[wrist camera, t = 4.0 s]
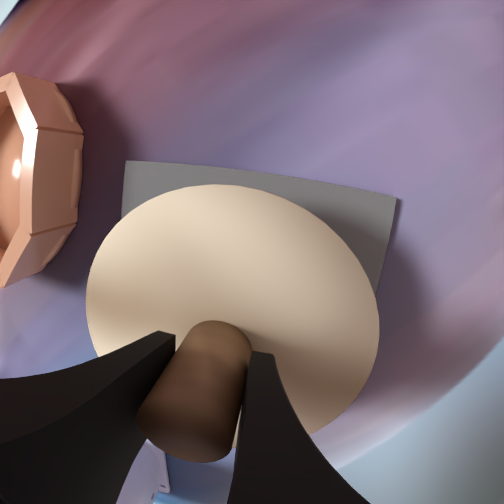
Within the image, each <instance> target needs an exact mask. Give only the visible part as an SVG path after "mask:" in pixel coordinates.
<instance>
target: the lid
mask: <svg viewBox="0 0 504 504" xmlns="http://www.w3.org/2000/svg"><path fill="white" fill-rule="evenodd" d="M86 315H87V322H88V327H89V332H90V335H91V339H92V342H93V345H94V348H95V350H96V352H97V355H98V357H100V356H103V355H105V354H108V353H110V352H112V351H115V350H117V349H119V348H121V347H123V346H126V345H128V344H130V343H132V342H134V341H136V340H138V339H140V338H142V337H144V336H147V335H149V334H151V333H153V332H156V331H158V330H159V331H163V332H167V333H171V334H175V335H176V352H175V354H174V355H173V357H172V358H171V360H170V361H169V363H168V364H167V366H166V367H165V369H164V370H163V372H162V374H161V375H160V377H159V378H158V380H157V381H156V383H155V384H154V386H153V388H152V389H151V391H150V392H149V394H148V395H147V397H146V398H145V400H144V402H143V403H142V405H141V406H140V408H139V409H138V412H137V423H138V426H139V428H140V430H141V431H142V433H143V434H144V436H145V437H146V438H147V439H148V440H149V441H150V442H151V443H152V444H153V445H155V446H156V447H157V448H159V449H160V450H162V451H164V452H165V453H167V454H169V455H171V456H174V457H176V458H179V459H182V460H186V461H191V462H200V463H207V462H214V461H217V460H220V459H222V458H224V457H225V456H227V455H228V454H229V453H230V451H231V449H232V448H236V443H237V434H238V425H239V419H240V413H241V407H242V402H243V397H244V390H245V384H246V378H247V372H248V366H249V361H250V357H251V353H252V351H258V352H264V353H270V354H273V356H274V357H275V361H276V366H277V369H278V373H279V376H280V379H281V381H282V384H283V387H284V389H285V391H286V394H287V396H288V398H289V401H290V403H291V405H292V407H293V409H294V411H295V413H296V415H297V416H298V418H299V420H300V422H301V424H302V425H303V427H304V429H305V430H306V432H307V433H308V435H310V434H312V433H314V432H316V431H318V430H319V429H321V428H323V427H324V426H326V425H327V424H329V423H330V422H332V421H333V420H334V419H336V418H337V417H338V416H339V415H340V414H341V413H343V412H344V411H345V410H346V409H347V408H348V407H349V405H350V404H351V403H352V402H353V401H354V400H355V399H356V397H357V396H358V394H359V393H360V391H361V390H362V388H363V387H364V385H365V383H366V381H367V379H368V377H369V375H370V373H371V371H372V368H373V365H374V362H375V359H376V355H377V350H378V343H379V315H378V309H377V304H376V299H375V296H374V293H373V290H372V287H371V284H370V282H369V279H368V277H367V275H366V273H365V271H364V270H363V268H362V266H361V264H360V262H359V261H358V259H357V258H356V256H355V255H354V254H353V252H352V251H351V250H350V249H349V247H348V246H347V245H346V243H345V242H344V241H343V240H342V239H341V238H340V237H339V236H338V235H337V234H336V233H335V232H334V231H333V230H332V229H331V228H330V227H329V226H328V225H327V224H326V223H325V222H323V221H322V220H321V219H319V218H318V217H316V216H315V215H314V214H312V213H311V212H309V211H308V210H307V209H305V208H303V207H301V206H299V205H298V204H296V203H294V202H292V201H290V200H288V199H286V198H284V197H281V196H278V195H275V194H272V193H269V192H267V191H264V190H260V189H255V188H250V187H245V186H239V185H220V184H211V185H201V186H191V187H185V188H181V189H178V190H174V191H170V192H166V193H164V194H162V195H159V196H157V197H155V198H152V199H150V200H148V201H146V202H145V203H143V204H141V205H140V206H138V207H137V208H135V209H134V210H132V211H130V212H129V213H128V214H127V215H126V216H125V217H124V218H123V219H121V220H120V221H119V222H118V223H117V224H116V225H115V226H114V228H113V229H112V230H111V231H110V233H109V234H108V235H107V236H106V238H105V239H104V241H103V243H102V244H101V246H100V248H99V250H98V251H97V253H96V256H95V258H94V261H93V263H92V266H91V269H90V273H89V278H88V282H87V290H86Z"/></svg>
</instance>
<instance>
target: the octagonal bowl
mask: <svg viewBox="0 0 504 504" xmlns="http://www.w3.org/2000/svg"><path fill="white" fill-rule="evenodd" d="M82 134H83V131H82V129H81V127H80V126H79V124H78V122H77V119H76V116H75V113H74V111H73V109H72V106H71V104H70V103H69V101H68V100H67V98H66V97H65V96H64V95H63V94H62V93H61V92H60V91H59V90H58V88H57V86H56V84H55V83H52V82H49V81H45V80H42V79H38V78H35V77H31V76H28V75H24V74H20V73H16V72H11V73H9V74H7V75H5V76H3V77H0V288H2V289H3V288H5V287H7V286H9V285H11V284H14V283H16V282H18V281H20V280H22V279H24V278H27V277H29V276H31V275H33V274H36V273H38V272H40V271H42V270H43V269H44V267H45V266H46V265H47V263H49V262H50V261H51V260H52V259H53V258H54V257H55V256H56V255H57V254H58V253H59V251H60V250H61V248H62V247H63V245H64V244H65V242H66V240H67V238H68V236H69V234H70V232H71V231H72V230H73V228H74V227H75V226H76V223H75V222H77V215H78V203H79V198H80V192H81V183H82V166H83V161H82V147H83V139H84V135H82Z"/></svg>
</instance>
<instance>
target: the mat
mask: <svg viewBox="0 0 504 504" xmlns="http://www.w3.org/2000/svg"><path fill="white" fill-rule="evenodd" d="M211 184H220V185H239V186H245V187H250V188H255V189H260V190H264V191H267V192H269V193H272V194H275V195H278V196H281V197H284V198H286V199H288V200H290V201H292V202H294V203H296V204H298V205H299V206H301V207H303V208H305V209H307V210H308V211H309V212H311V213H312V214H314V215H315V216H316V217H318V218H319V219H321V220H322V221H323V222H325V223H326V224H327V225H328V226H329V227H330V228H331V229H332V230H333V231H334V232H335V233H336V234H337V235H338V236H339V237H340V238H341V239H342V240H343V241H344V242H345V243H346V245H347V246H348V247H349V249H350V250H351V251H352V252H353V254H354V255H355V256H356V258H357V259H358V261H359V262H360V264H361V266H362V268H363V270H364V271H365V273H366V275H367V277H368V279H369V282H370V284H371V287H372V290H373V293H374V296H375V295H376V291H377V287H378V283H379V280H380V276H381V272H382V268H383V264H384V259H385V255H386V251H387V246H388V241H389V237H390V232H391V227H392V222H393V216H394V211H395V205H396V199H397V197H393V196H389V195H385V194H380V193H376V192H371V191H366V190H362V189H357V188H352V187H347V186H342V185H336V184H331V183H326V182H320V181H314V180H308V179H302V178H296V177H290V176H283V175H277V174H270V173H262V172H255V171H247V170H239V169H230V168H221V167H212V166H201V165H190V164H178V163H164V162H147V161H126V164H125V173H124V184H123V196H122V212H121V219H123V218H124V217H125V216H126V215H127V214H128V213H129V212H130V211H132V210H134V209H135V208H137V207H138V206H140V205H141V204H143V203H145V202H146V201H148V200H150V199H152V198H155V197H157V196H159V195H162V194H164V193H166V192H170V191H174V190H178V189H181V188H185V187H191V186H201V185H211Z"/></svg>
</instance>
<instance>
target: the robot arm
mask: <svg viewBox="0 0 504 504" xmlns="http://www.w3.org/2000/svg"><path fill="white" fill-rule="evenodd" d="M175 352H176V335H175V334H171V333H167V332H163V331H159V330H158V331H156V332H153V333H151V334H149V335H147V336H144V337H142V338H140V339H138V340H136V341H134V342H132V343H130V344H128V345H126V346H123V347H121V348H119V349H117V350H115V351H112V352H110V353H108V354H105V355H103V356H100V357H98V358H95V359H93V360H90V361H87V362H85V363H82V364H79V365H76V366H73V367H70V368H66V369H62V370H58V371H54V372H50V373H45V374H39V375H33V376H27V377H20V378H7V379H0V504H153V502H154V499H155V497H156V495H157V493H158V491H161V492H164V493H169V492H170V485H169V478H168V472H167V465H166V458H165V452H164V451H162V450H160V449H159V448H157V447H156V446H155V445H153V444H152V443H151V442H150V441H149V440H148V439H147V438H146V437H145V436H144V434H143V433H142V431H141V430H140V428H139V426H138V423H137V412H138V409H139V408H140V406H141V405H142V403H143V402H144V400H145V398H146V397H147V395H148V394H149V392H150V391H151V389H152V388H153V386H154V384H155V383H156V381H157V380H158V378H159V377H160V375H161V374H162V372H163V370H164V369H165V367H166V366H167V364H168V363H169V361H170V360H171V358H172V357H173V355H174V354H175ZM227 504H370V503H369V502H368V501H366V500H365V499H364V498H363V497H362V496H361V495H360V494H359V493H358V492H356V491H355V490H354V489H353V488H352V487H351V486H350V485H349V484H348V483H347V482H346V481H345V480H344V479H343V477H341V475H340V474H339V473H338V472H337V471H336V470H335V469H334V468H333V467H332V466H331V465H330V463H329V462H328V461H327V460H326V458H325V457H324V456H323V455H322V453H321V452H320V451H319V449H318V448H317V447H316V445H315V444H314V442H313V441H312V439H311V438H310V437H309V435H308V433H307V432H306V430H305V429H304V427H303V425H302V424H301V422H300V420H299V418H298V416H297V415H296V413H295V411H294V409H293V407H292V405H291V403H290V401H289V398H288V396H287V394H286V391H285V389H284V387H283V384H282V381H281V379H280V376H279V373H278V369H277V366H276V361H275V357H274V356H273V354H270V353H264V352H258V351H252V353H251V357H250V361H249V366H248V372H247V378H246V384H245V390H244V397H243V402H242V407H241V413H240V419H239V425H238V434H237V443H236V453H235V462H234V472H233V480H232V484H231V488H230V493H229V497H228V501H227Z"/></svg>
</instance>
